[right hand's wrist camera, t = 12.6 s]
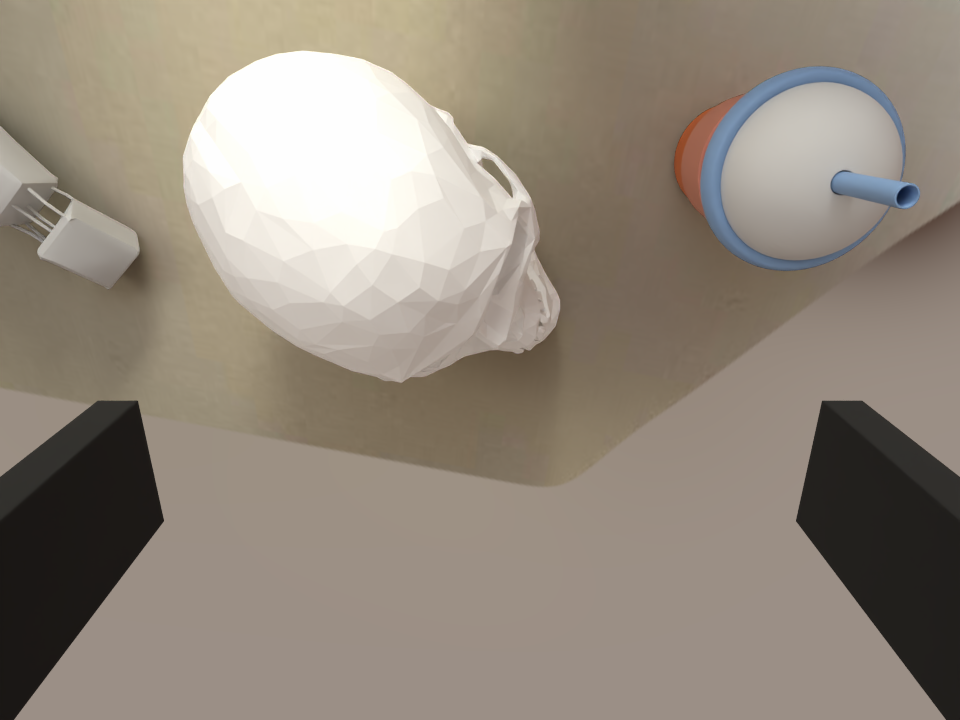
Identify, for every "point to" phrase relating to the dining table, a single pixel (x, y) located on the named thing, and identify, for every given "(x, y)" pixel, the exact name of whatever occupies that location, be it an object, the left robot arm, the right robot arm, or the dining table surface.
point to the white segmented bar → (62, 220)
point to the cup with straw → (796, 167)
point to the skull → (362, 219)
